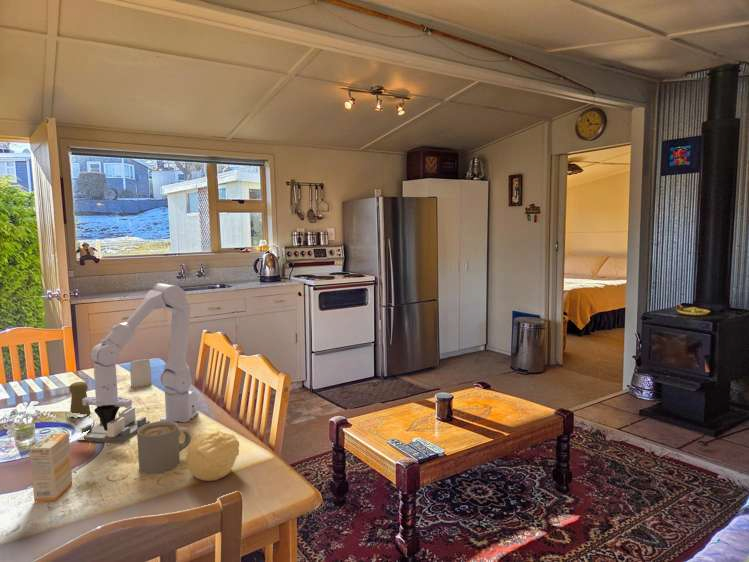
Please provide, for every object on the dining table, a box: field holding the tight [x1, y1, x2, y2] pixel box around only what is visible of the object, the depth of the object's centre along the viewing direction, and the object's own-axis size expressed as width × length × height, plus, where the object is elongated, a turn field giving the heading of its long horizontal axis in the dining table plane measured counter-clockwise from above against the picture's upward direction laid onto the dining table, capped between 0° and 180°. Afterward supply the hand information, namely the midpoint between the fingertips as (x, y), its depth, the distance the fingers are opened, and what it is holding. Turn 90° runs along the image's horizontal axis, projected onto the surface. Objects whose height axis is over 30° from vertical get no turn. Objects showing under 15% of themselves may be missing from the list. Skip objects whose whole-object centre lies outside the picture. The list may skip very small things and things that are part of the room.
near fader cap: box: [107, 416, 125, 437], centre depth 149 cm, size 2×5×4 cm, turn 172°
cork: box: [69, 381, 92, 416], centre depth 167 cm, size 6×6×11 cm
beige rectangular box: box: [129, 358, 153, 389], centre depth 198 cm, size 4×7×10 cm, turn 128°
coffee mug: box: [136, 420, 192, 475], centre depth 133 cm, size 13×10×10 cm
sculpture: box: [186, 430, 240, 482], centre depth 127 cm, size 12×12×11 cm
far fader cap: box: [118, 405, 137, 426], centre depth 157 cm, size 2×5×4 cm, turn 172°
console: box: [80, 416, 151, 444], centre depth 153 cm, size 14×14×3 cm
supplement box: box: [29, 432, 73, 503], centre depth 118 cm, size 8×5×13 cm, turn 5°
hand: (108, 429), depth 149 cm, fingers closed
